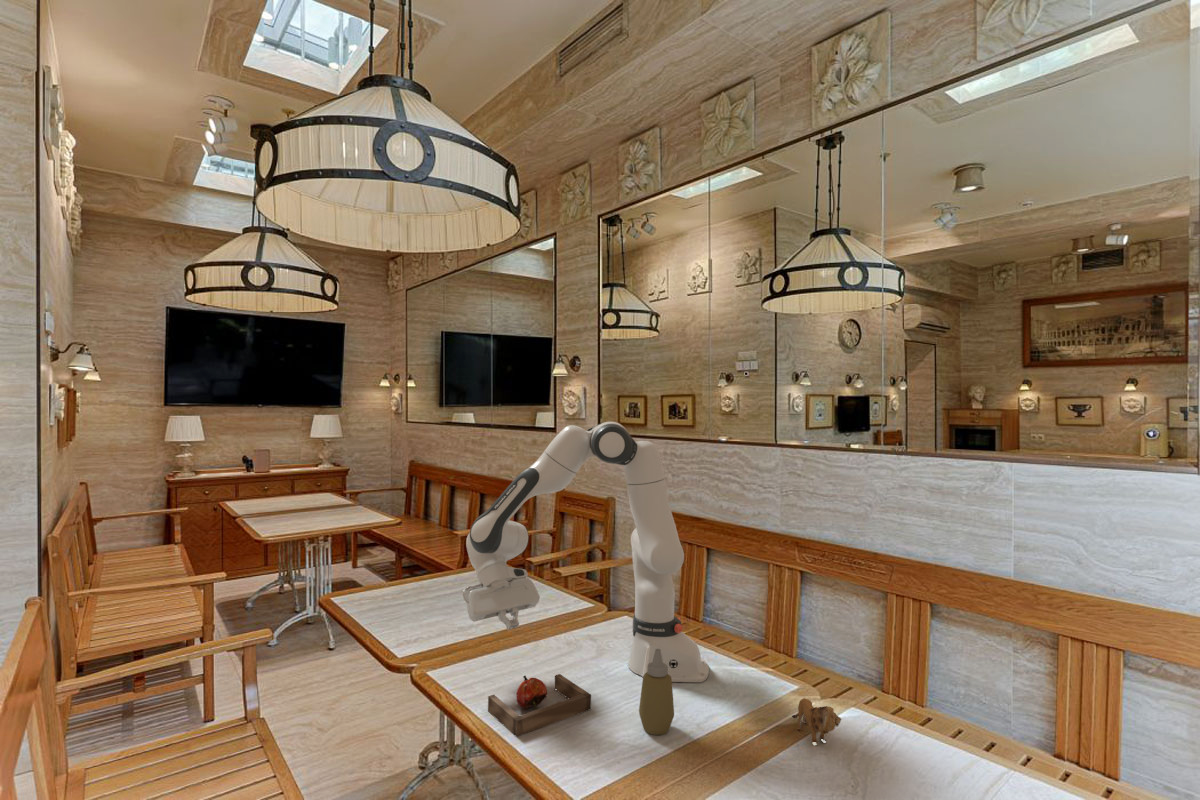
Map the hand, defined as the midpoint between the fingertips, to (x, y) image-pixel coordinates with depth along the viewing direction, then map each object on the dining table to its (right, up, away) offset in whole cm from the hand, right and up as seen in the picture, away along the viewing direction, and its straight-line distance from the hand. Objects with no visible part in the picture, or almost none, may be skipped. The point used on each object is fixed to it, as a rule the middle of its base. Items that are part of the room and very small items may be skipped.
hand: (513, 627), depth 158 cm
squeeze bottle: (+36, -15, -21) cm, 44 cm away
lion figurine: (+71, -16, -22) cm, 76 cm away
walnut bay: (+8, -15, -13) cm, 21 cm away
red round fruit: (+6, -15, -13) cm, 21 cm away
